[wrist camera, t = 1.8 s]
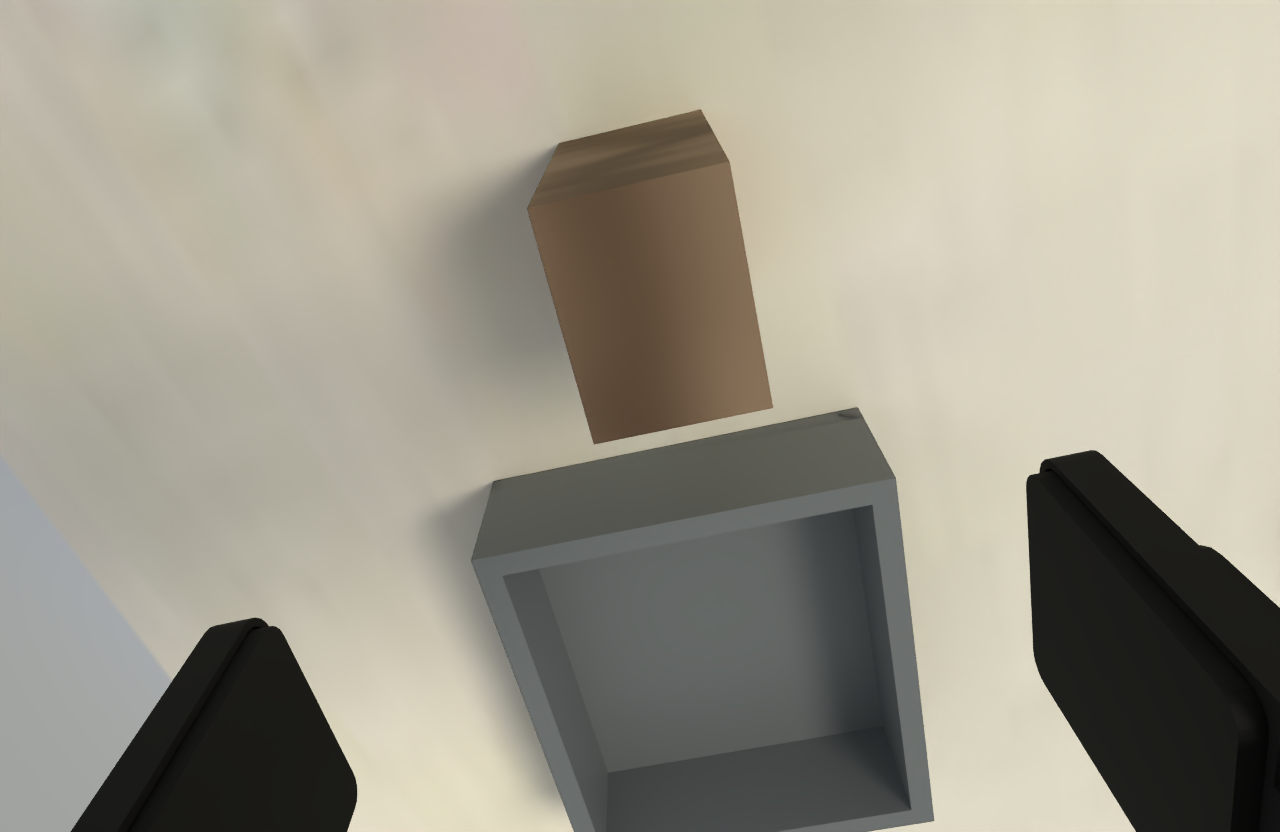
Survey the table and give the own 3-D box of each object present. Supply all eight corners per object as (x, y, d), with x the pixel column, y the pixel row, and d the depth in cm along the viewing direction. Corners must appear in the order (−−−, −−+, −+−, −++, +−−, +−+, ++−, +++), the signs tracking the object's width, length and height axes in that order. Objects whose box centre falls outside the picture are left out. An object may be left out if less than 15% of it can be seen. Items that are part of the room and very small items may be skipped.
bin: (857, 407, 31) (895, 477, 27) (898, 722, 38) (934, 820, 33) (493, 481, 32) (471, 560, 28) (595, 773, 39) (590, 875, 35)
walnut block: (700, 109, 27) (729, 161, 19) (734, 292, 29) (772, 407, 21) (559, 143, 27) (527, 208, 19) (605, 320, 30) (594, 444, 22)
